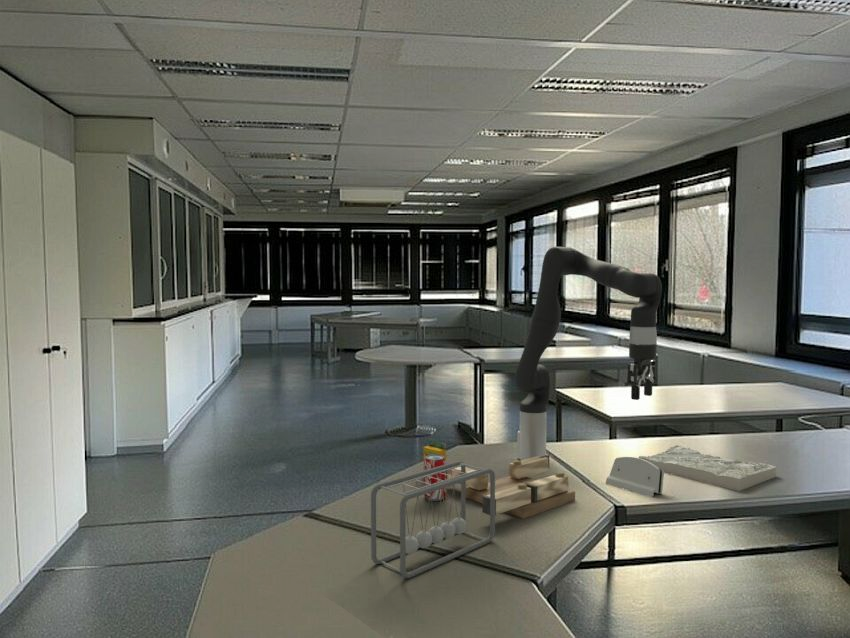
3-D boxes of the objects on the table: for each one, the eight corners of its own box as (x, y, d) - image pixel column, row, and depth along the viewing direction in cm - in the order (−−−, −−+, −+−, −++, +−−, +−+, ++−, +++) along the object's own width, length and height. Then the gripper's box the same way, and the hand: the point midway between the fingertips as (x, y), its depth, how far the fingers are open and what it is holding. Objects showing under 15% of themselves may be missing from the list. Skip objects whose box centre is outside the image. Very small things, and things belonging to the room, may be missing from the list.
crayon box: (423, 477, 200) (422, 441, 199) (429, 475, 202) (429, 439, 201) (440, 482, 195) (440, 445, 194) (446, 479, 197) (446, 443, 196)
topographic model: (739, 492, 185) (739, 475, 185) (638, 466, 213) (638, 451, 212) (776, 477, 199) (776, 462, 199) (677, 455, 227) (677, 441, 226)
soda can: (434, 493, 184) (434, 452, 184) (450, 498, 180) (450, 456, 179) (419, 498, 180) (419, 456, 179) (435, 503, 175) (435, 461, 175)
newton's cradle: (402, 582, 129) (402, 497, 128) (370, 566, 136) (369, 485, 135) (495, 540, 150) (496, 467, 149) (463, 528, 157) (463, 458, 156)
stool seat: (415, 495, 182) (415, 469, 181) (516, 467, 210) (516, 445, 209) (496, 528, 157) (496, 498, 157) (598, 491, 185) (599, 466, 185)
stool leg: (557, 487, 180) (557, 470, 180) (568, 490, 177) (568, 473, 177) (524, 498, 171) (524, 480, 171) (534, 502, 168) (534, 484, 168)
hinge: (604, 483, 193) (611, 451, 195) (613, 485, 196) (620, 453, 197) (652, 497, 180) (660, 463, 181) (661, 499, 182) (668, 465, 184)
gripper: (641, 339, 190) (640, 392, 191) (619, 342, 180) (618, 399, 181) (665, 341, 185) (664, 396, 186) (644, 344, 175) (643, 402, 175)
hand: (641, 397), depth 183 cm, fingers open, 8 cm apart
